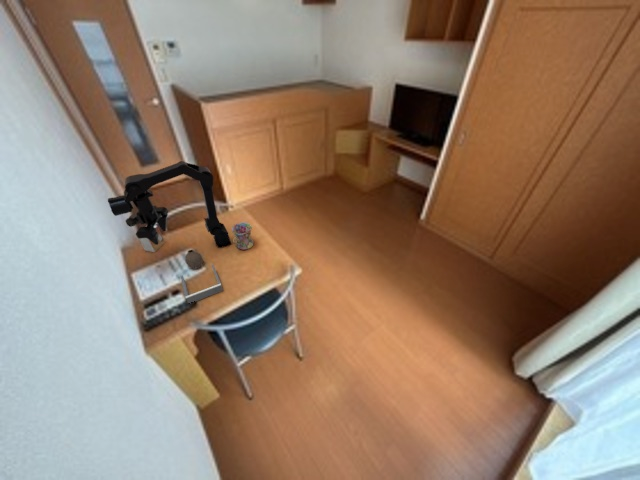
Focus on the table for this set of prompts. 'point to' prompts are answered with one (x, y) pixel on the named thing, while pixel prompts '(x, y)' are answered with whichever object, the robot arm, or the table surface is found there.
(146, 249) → the small box
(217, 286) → the bay
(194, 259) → the vase
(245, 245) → the mug
